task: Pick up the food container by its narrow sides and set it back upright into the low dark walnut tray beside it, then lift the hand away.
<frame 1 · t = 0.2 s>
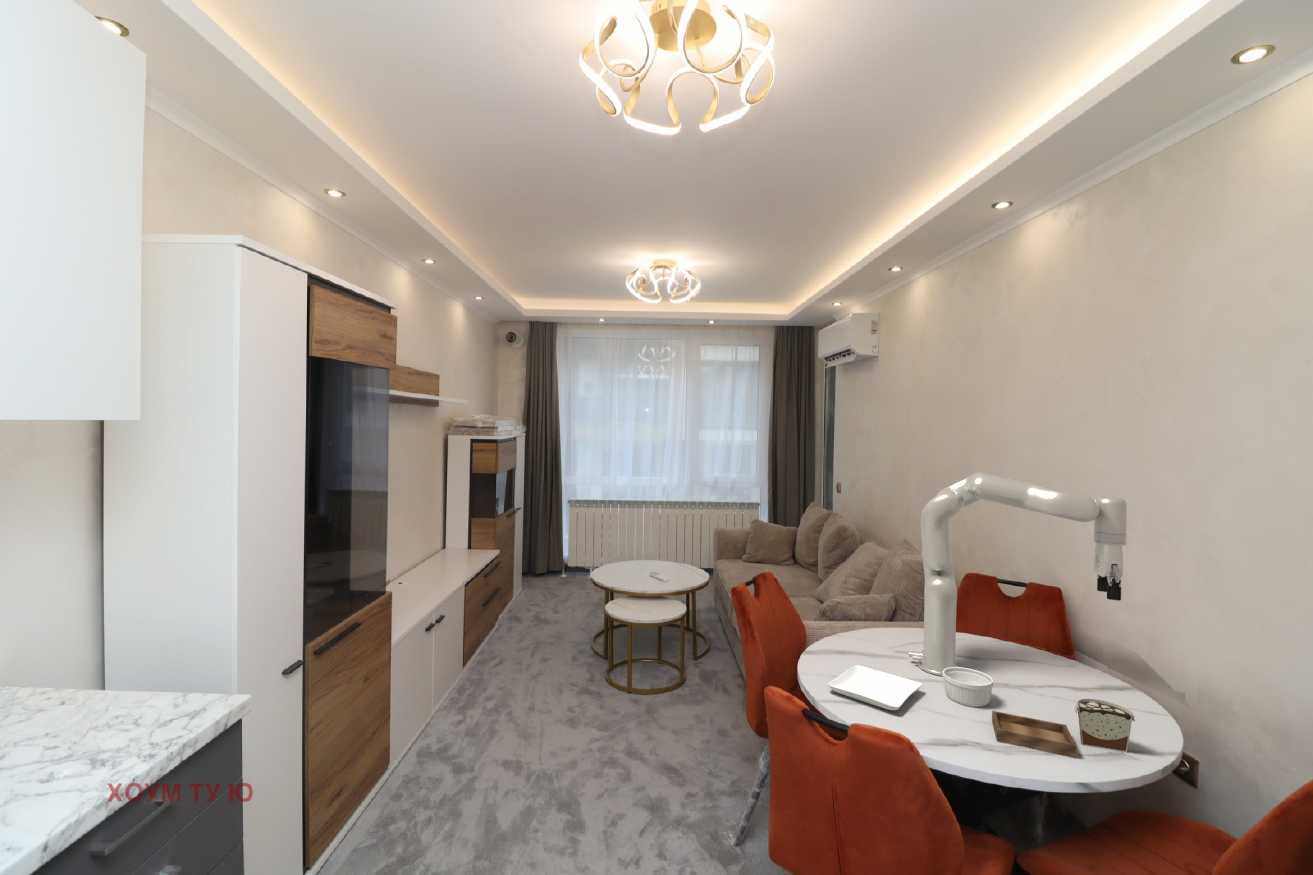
hand: (1108, 595, 169), 31 cm above the table, tool pointing down, fingers open, 9 cm apart
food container: (1099, 743, 144), on the table
tray: (1031, 738, 145), on the table
salad plate: (874, 695, 170), on the table
ramekin: (966, 699, 168), on the table
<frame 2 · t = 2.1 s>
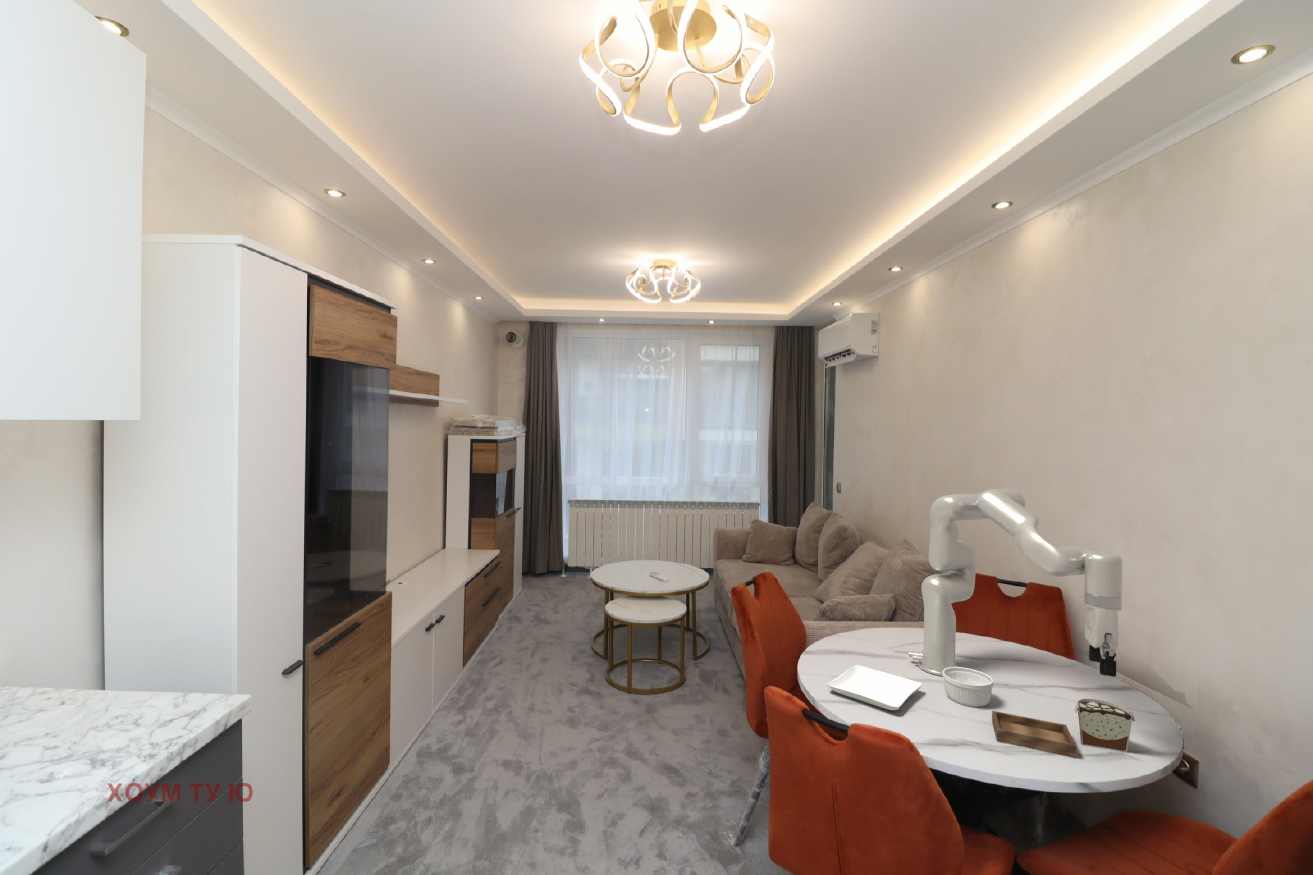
hand: (1102, 668, 144), 19 cm above the table, tool pointing down, fingers open, 9 cm apart
nothing on the table moved.
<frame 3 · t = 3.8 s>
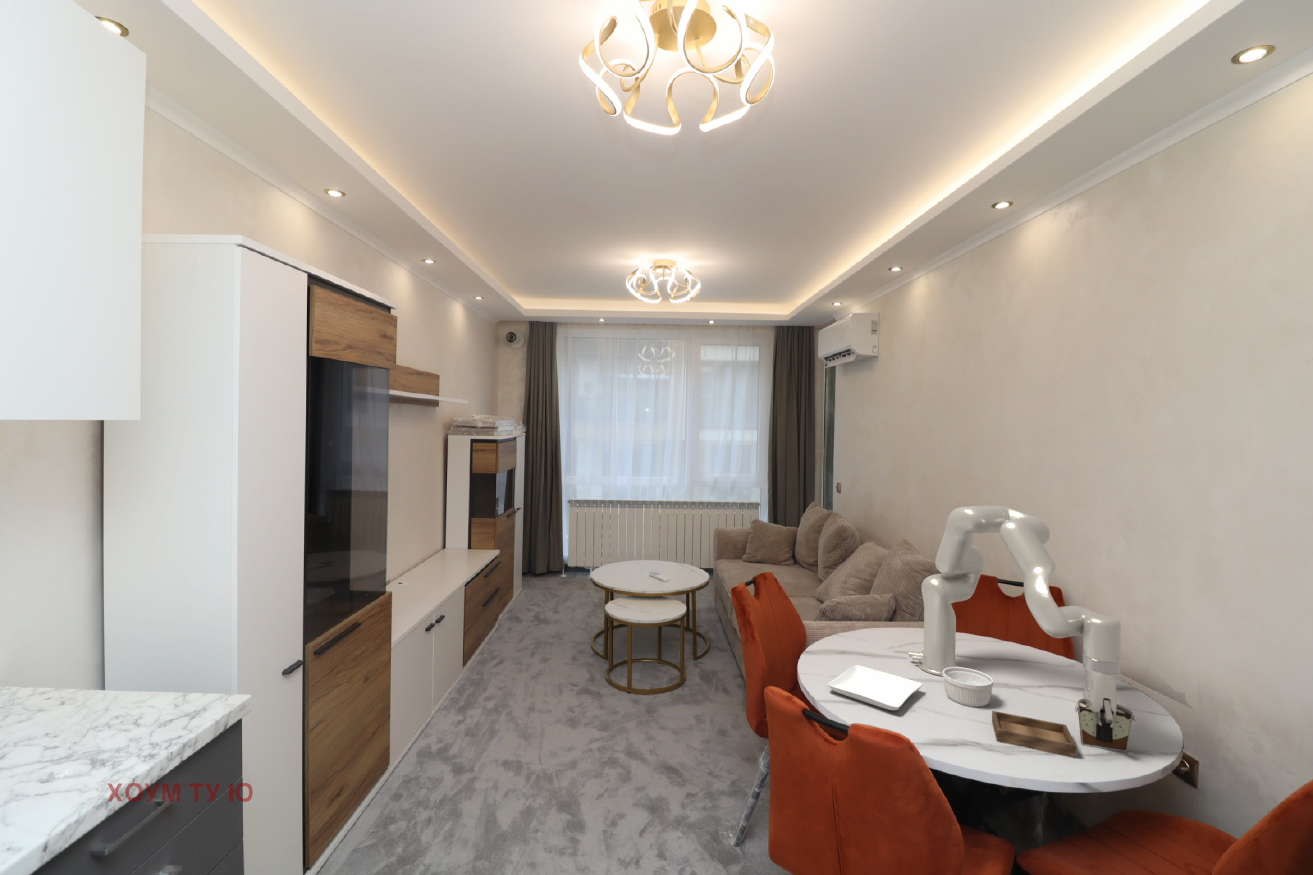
hand: (1100, 734, 144), 2 cm above the table, tool pointing down, fingers open, 5 cm apart
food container: (1099, 743, 144), on the table, touching gripper
everything else where it was.
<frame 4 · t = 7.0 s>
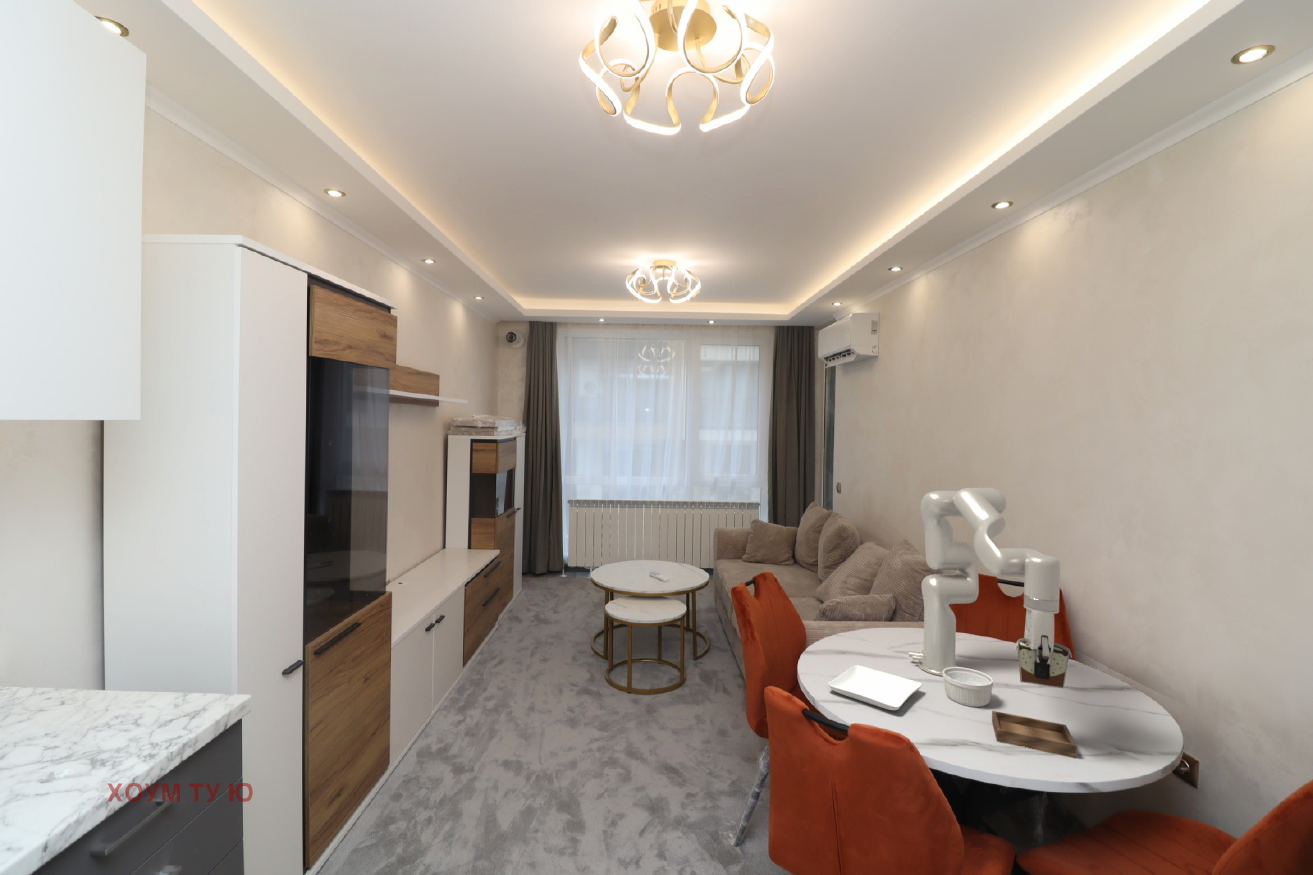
hand: (1039, 672, 145), 17 cm above the table, tool pointing down, fingers closed on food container, 5 cm apart
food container: (1038, 681, 146), point 15 cm above the table, touching gripper
everything else where it was.
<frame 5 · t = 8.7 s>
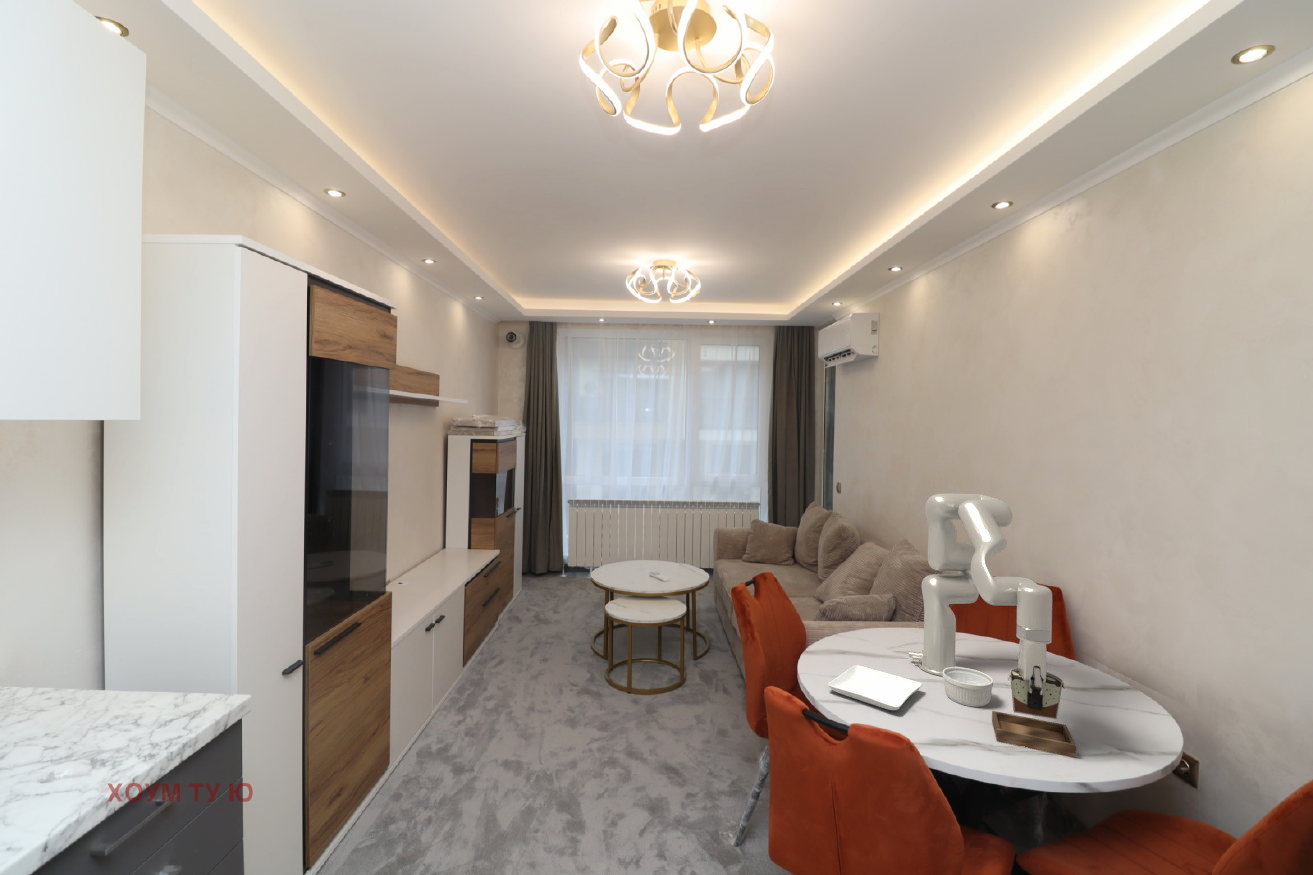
hand: (1032, 703, 145), 9 cm above the table, tool pointing down, fingers closed on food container, 5 cm apart
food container: (1031, 711, 146), point 7 cm above the table, touching gripper
everything else where it was.
when the fingers open (5 cm above the table, at t = 10.0 s): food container drops 1 cm, resting on tray.
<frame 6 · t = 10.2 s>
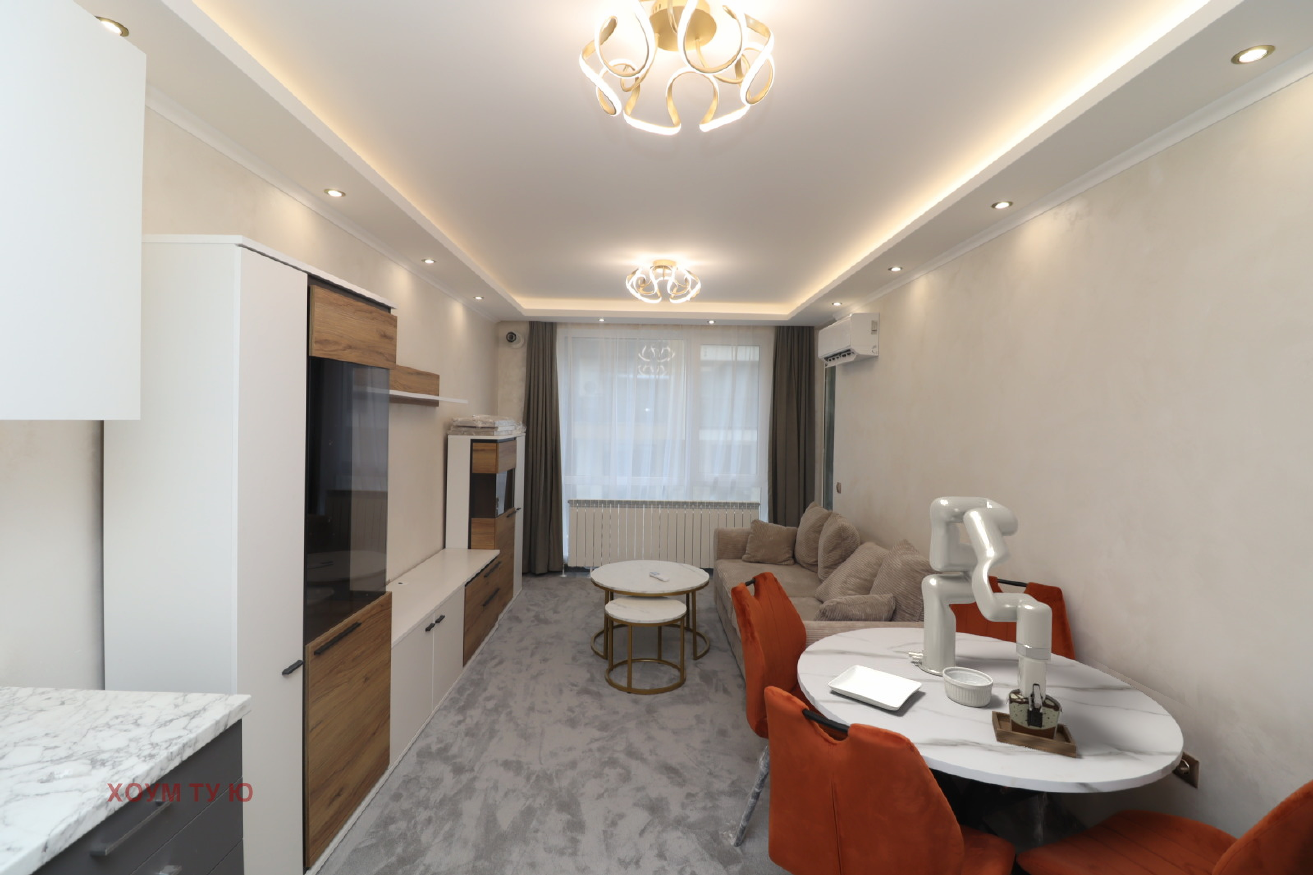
hand: (1031, 718, 146), 5 cm above the table, tool pointing down, fingers open, 7 cm apart
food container: (1029, 730, 147), point 1 cm above the table, touching gripper, tray
everything else where it was.
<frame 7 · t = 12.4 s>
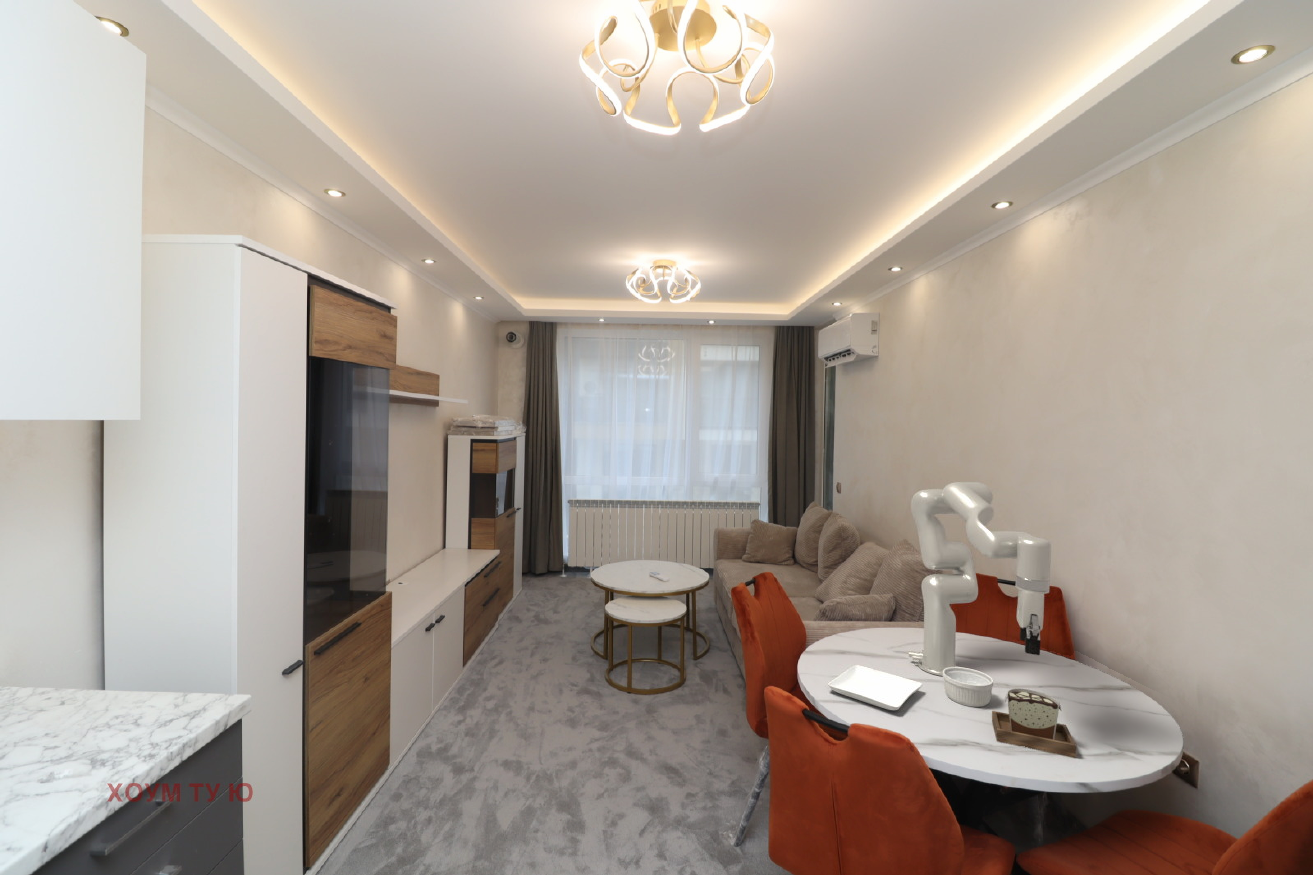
hand: (1029, 647, 151), 22 cm above the table, tool pointing down, fingers open, 9 cm apart
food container: (1029, 732, 147), point 1 cm above the table, touching tray
everything else where it was.
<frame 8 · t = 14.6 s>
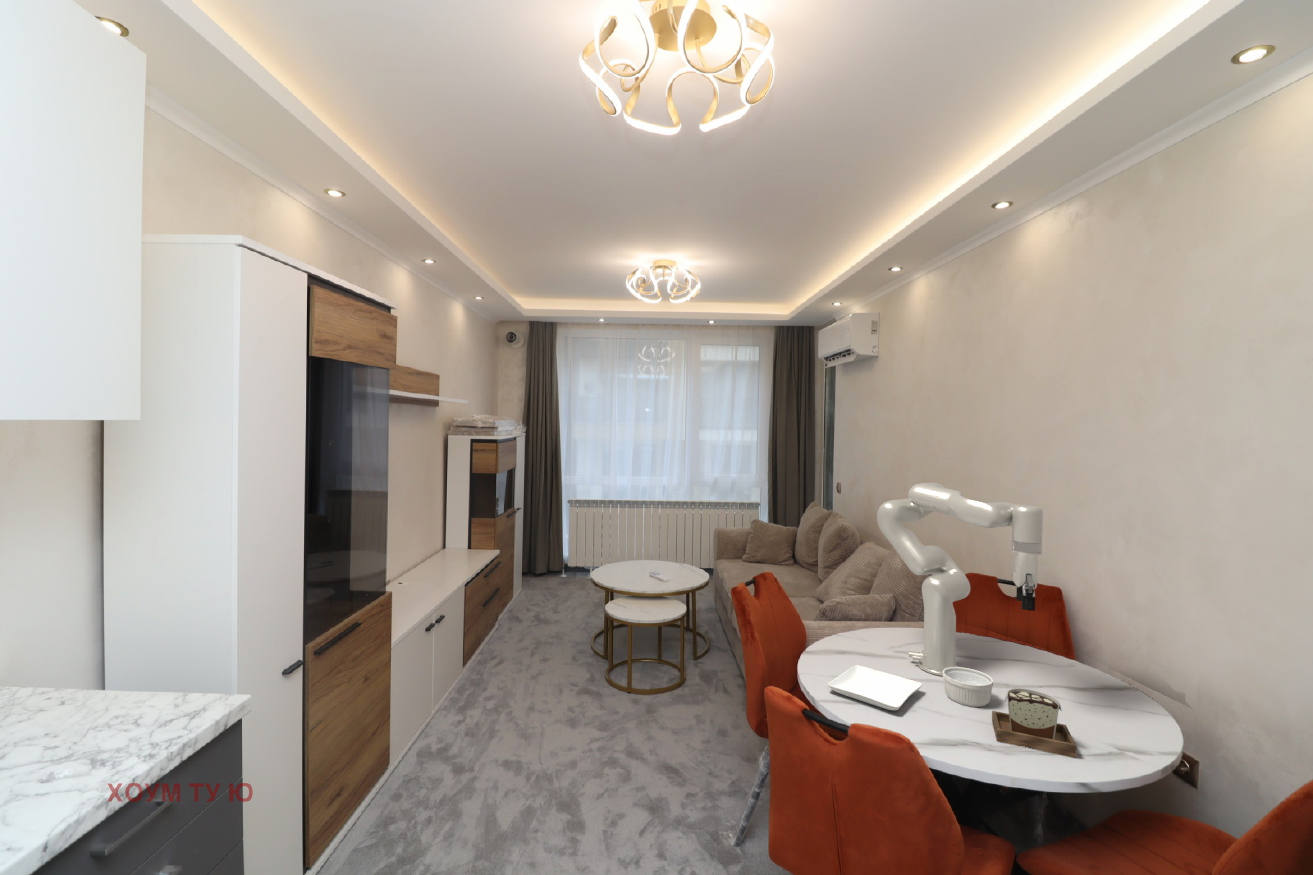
hand: (1025, 605, 166), 28 cm above the table, tool pointing down, fingers open, 9 cm apart
nothing on the table moved.
at the end: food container 1.7 cm off-centre on the tray, point 0.8 cm above the tray's base; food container tilted 0°; the gripper is holding nothing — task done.
